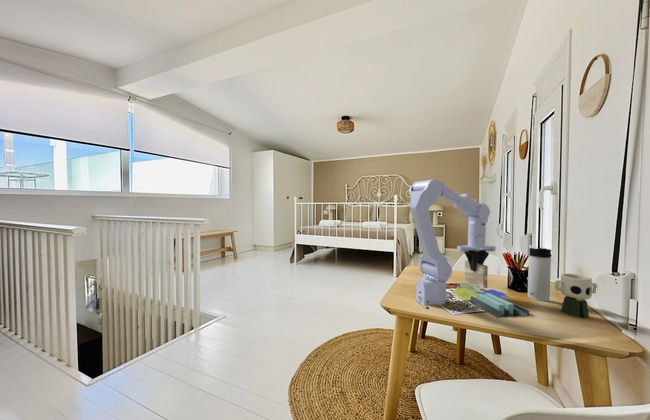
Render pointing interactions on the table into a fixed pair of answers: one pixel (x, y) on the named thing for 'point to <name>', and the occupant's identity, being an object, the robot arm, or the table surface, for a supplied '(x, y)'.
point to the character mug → (575, 293)
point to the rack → (517, 311)
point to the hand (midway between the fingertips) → (475, 270)
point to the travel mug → (539, 274)
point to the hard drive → (495, 293)
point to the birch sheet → (476, 274)
